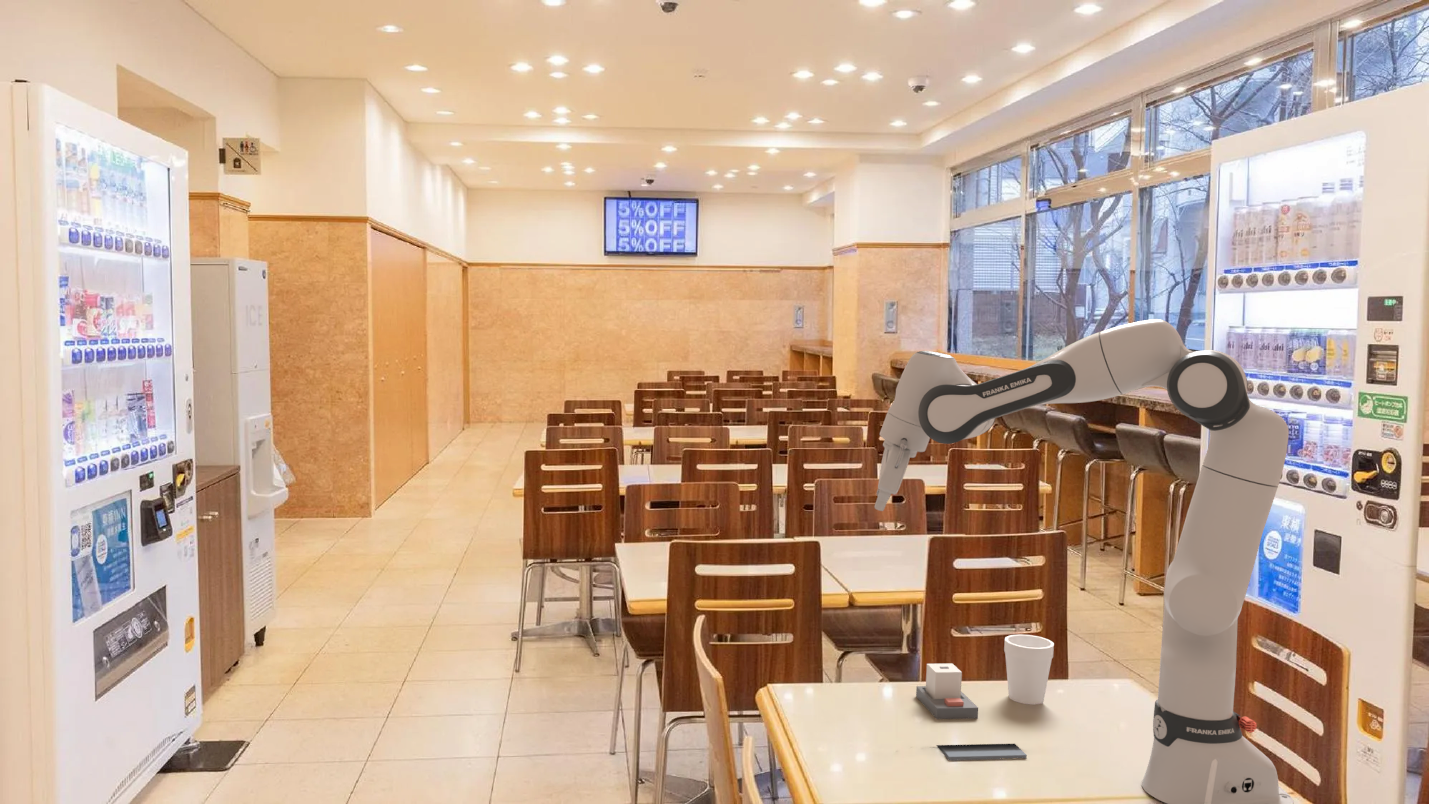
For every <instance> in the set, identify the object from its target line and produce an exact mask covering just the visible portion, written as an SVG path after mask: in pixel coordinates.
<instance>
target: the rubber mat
mask: <svg viewBox="0 0 1429 804" xmlns="http://www.w3.org/2000/svg"><path fill="white" fill-rule="evenodd" d="M935 746H936V747H937V748H938V749H939V750H940V752H941V753H942V754H943V755H944V757H946V759H947V760H948V761H971V760H973V761H975V760H976V761H978V760H982V761H983V760H1003V759H1002V758H1007V759H1006V760H1009V759H1008V758H1025V759H1027V756H1028V755H1027V754H1026V753H1025V752H1024V751H1023V750H1022V749H1021V748H1020V747H1019V746H1018V745H1017V744H1016V743H987V744H986V743H983V744H982V743H980V744H977V743H974V744H939V745H937V744H936V745H935ZM1000 758H1001V759H1000Z"/></svg>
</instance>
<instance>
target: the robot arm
mask: <svg viewBox="0 0 1429 804" xmlns="http://www.w3.org/2000/svg"><path fill="white" fill-rule="evenodd" d="M1150 387H1157V388H1163V389H1164V390H1166V391H1167V395H1168V398H1169V400H1170V403H1172V405H1173V407H1175V408H1176V410H1178V411H1179V412H1180V413H1181V414H1183V415H1184V417H1185V416H1186V417H1187V418H1189V419H1191V420H1192V421H1194V422H1195V423H1198V424H1199V425H1201V426H1202V427H1204V428H1206V429H1208V430H1209V443H1208V446H1207V451H1206V454H1205V457H1204V459H1203V462H1202V466H1201V468H1200V472H1199V475H1198V478H1197V480H1196V485H1195V487H1194V490H1193V493H1192V497H1191V499H1190V503H1189V507H1188V509H1187V512H1186V515H1185V516H1186V517H1185V521H1184V524H1183V527H1182V531H1181V532H1180V533H1181V534H1180V537H1179V541H1178V543H1177V547H1176V551H1175V553H1174V556H1173V560H1172V561H1171V562H1170V564H1169V566H1168V568H1167V571H1166V575H1165V582H1164V589H1163V600H1164V604H1163V619H1162V633H1161V645H1160V646H1161V647H1160V659H1159V672H1158V673H1159V674H1158V677H1159V678H1158V689H1157V690H1158V691H1157V699H1156V700H1155V702H1154V707H1153V708H1154V709H1153V720H1152V721H1153V722H1152V727H1153V728H1152V730H1153V741H1152V747H1151V752H1150V756H1149V761H1148V764H1147V767H1146V770H1145V773H1144V776H1143V778H1142V781H1141V787H1142V789H1144V791H1145V792H1146V793H1148V795H1150V796H1152V797H1154V798H1155V799H1156V800H1159V801H1161V802H1163V803H1165V804H1295V801H1294V800H1293V797H1291V795H1290V794H1289V793H1288V792H1287V791H1285V790H1284V789H1283V788H1282V787H1280V786H1279V777H1278V772H1277V769H1276V766H1275V765H1274V763H1273V761H1272V760H1271V759H1270V758H1269V757H1268V756H1266V754H1264V753H1263V752H1262V751H1261V750H1260V749H1258V748H1257V747H1256V746H1255V745H1254V744H1253V743H1252V742H1250V741H1249V740H1248V739H1247V738H1246V737H1245V736H1243V732H1242V730H1241V729H1243V730H1245V731H1246V732H1247V733H1250V734H1252V733H1254V732H1255V731H1256V730H1257V727H1258V724H1257V722H1256V721H1255V720H1253V719H1251V718H1250V717H1249V716H1242V717H1241V714H1238V713H1237V712H1235V711H1234V701H1235V689H1236V687H1235V686H1236V674H1237V673H1236V671H1237V669H1236V668H1237V651H1238V650H1237V648H1238V647H1237V646H1238V645H1237V644H1238V624H1239V623H1238V621H1239V620H1238V619H1239V616H1240V614H1241V612H1242V607H1243V606H1244V601H1245V599H1246V595H1247V591H1248V589H1249V584H1250V581H1251V577H1252V575H1253V571H1254V566H1255V563H1256V561H1257V560H1256V559H1257V556H1258V552H1259V549H1260V548H1259V547H1260V544H1261V540H1262V536H1263V533H1264V530H1265V527H1266V524H1267V521H1268V519H1269V515H1270V512H1271V509H1272V506H1273V503H1274V499H1275V497H1276V493H1277V491H1278V488H1279V485H1280V481H1281V478H1282V474H1283V472H1284V467H1285V463H1286V462H1285V461H1286V458H1287V450H1288V444H1289V434H1290V433H1289V432H1290V431H1289V427H1288V424H1287V422H1286V421H1285V420H1284V418H1283V417H1282V416H1281V415H1279V414H1278V413H1276V412H1275V411H1274V410H1272V409H1269V408H1267V407H1263V406H1260V405H1258V404H1256V403H1253V401H1252V400H1251V399H1250V398H1249V395H1248V378H1247V374H1246V372H1245V371H1244V368H1243V367H1242V365H1241V364H1240V362H1238V361H1237V360H1236V359H1235V358H1234V357H1233V356H1231V355H1229V354H1227V353H1226V352H1223V351H1219V350H1214V349H1213V350H1212V349H1205V350H1198V349H1193V348H1187V347H1186V345H1185V343H1184V341H1183V339H1182V337H1181V335H1180V334H1179V331H1177V329H1176V328H1175V327H1174V326H1173V325H1172V324H1171V323H1169V322H1167V321H1166V320H1163V319H1160V318H1159V319H1158V318H1153V319H1151V318H1150V319H1146V320H1145V319H1144V320H1138V321H1135V322H1131V323H1125V324H1121V325H1117V326H1115V327H1114V326H1113V327H1111V328H1108V329H1104V330H1100V331H1098V332H1096V333H1093V334H1092V333H1091V334H1090V335H1088V336H1085V337H1083V338H1081V339H1079V340H1076V341H1075V342H1073V343H1071V344H1069V345H1067V346H1065V347H1063V348H1061V349H1060V350H1058V351H1055V352H1054V353H1052V354H1050V355H1049V356H1047V357H1045V358H1043V359H1042V360H1040V361H1038V362H1036V363H1034V364H1032V365H1031V366H1028V367H1026V368H1023V369H1021V370H1020V369H1019V370H1017V371H1014V372H1012V373H1008V374H1005V375H1002V376H1000V377H997V378H993V379H990V380H987V381H983V382H980V383H977V382H975V381H974V380H973V379H971V378H970V377H969V376H968V375H967V374H966V373H965V372H964V371H963V369H962V368H961V367H960V365H959V364H958V362H957V359H956V358H955V357H954V356H952V355H950V354H946V353H942V352H937V351H929V350H921V351H917V352H915V353H913V354H912V355H911V356H910V358H909V360H908V361H907V363H906V365H905V367H904V370H903V371H902V374H901V375H900V378H899V381H898V383H897V385H896V388H895V395H894V400H893V402H892V404H891V405H890V407H889V408H888V410H887V411H886V412H887V413H886V415H885V418H884V420H883V424H882V425H881V426H882V427H881V429H880V431H879V436H880V437H881V438H882V439H883V443H882V447H883V448H884V450H883V454H882V459H881V465H880V471H879V479H878V485H877V490H876V496H877V498H876V501H875V503H874V509H875V510H877V511H879V512H883V511H884V510H885V508H886V506H887V503H888V501H889V499H890V497H891V495H897V493H898V492H899V490H900V487H901V485H902V482H903V479H904V477H905V474H906V470H907V468H908V466H909V462H910V458H911V459H913V458H916V456H917V454H918V453H923V452H924V453H925V451H926V450H927V447H928V445H929V442H930V439H932V440H933V441H934V442H936V443H940V444H945V445H949V444H950V445H951V444H956V443H958V442H960V441H963V440H966V439H967V440H968V439H972V438H975V437H979V436H981V435H983V434H985V433H987V432H988V431H989V430H990V429H991V428H992V426H993V425H994V423H995V421H996V419H997V418H1000V417H1003V416H1006V415H1009V414H1013V413H1015V412H1019V411H1023V410H1025V409H1029V408H1032V407H1037V406H1041V405H1052V404H1053V405H1054V404H1078V403H1079V404H1080V403H1081V404H1082V403H1091V402H1097V401H1098V402H1099V401H1102V400H1107V399H1111V398H1115V397H1119V396H1121V395H1122V396H1123V395H1126V394H1129V393H1131V392H1134V391H1135V392H1136V391H1137V390H1141V389H1146V388H1150Z"/></svg>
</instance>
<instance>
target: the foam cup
mask: <svg viewBox="0 0 1429 804" xmlns="http://www.w3.org/2000/svg"><path fill="white" fill-rule="evenodd" d="M1054 646H1055V643H1054V642H1053V641H1052V640H1050V639H1048V638H1045V637H1042V636H1038V635H1032V634H1010V635H1008V636H1005V637H1004V647H1003V651H1004V654H1005V665H1006V666H1005V667H1006V668H1005V669H1006V678H1007V691H1008V698H1009V699H1010V700H1011V701H1014V702H1016V703H1020V704H1025V705H1040V704H1042V705H1044V701H1045V696H1046V690H1047V684H1048V679H1049V676H1050V670H1051V665H1052V659H1053V658H1054V649H1055V648H1054Z"/></svg>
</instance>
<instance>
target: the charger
mask: <svg viewBox="0 0 1429 804" xmlns="http://www.w3.org/2000/svg"><path fill="white" fill-rule="evenodd" d="M962 677H963V672H962V671H961V670H960V669H959V668H958V667H957V666H956V665H954V663H952V662H951V663H926V675H925V686H926V693H927V694H928V695H929V696H930V697H931V698H932V699H945V698H960V699H961V692H962Z"/></svg>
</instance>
